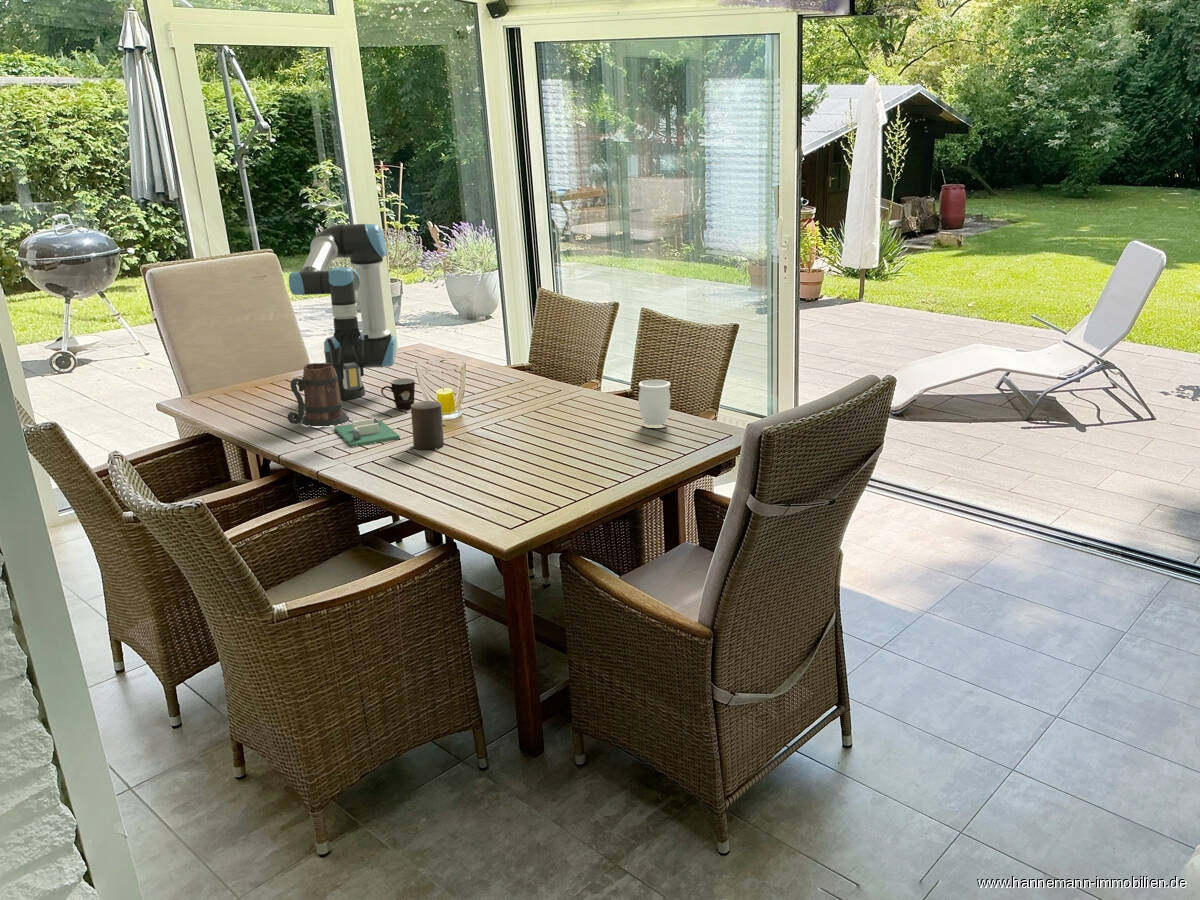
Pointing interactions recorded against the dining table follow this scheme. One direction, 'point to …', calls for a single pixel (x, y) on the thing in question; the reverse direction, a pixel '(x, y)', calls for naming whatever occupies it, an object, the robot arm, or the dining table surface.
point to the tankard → (318, 397)
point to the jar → (654, 401)
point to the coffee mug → (402, 392)
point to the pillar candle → (427, 425)
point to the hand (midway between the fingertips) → (352, 386)
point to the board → (366, 432)
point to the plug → (352, 376)
